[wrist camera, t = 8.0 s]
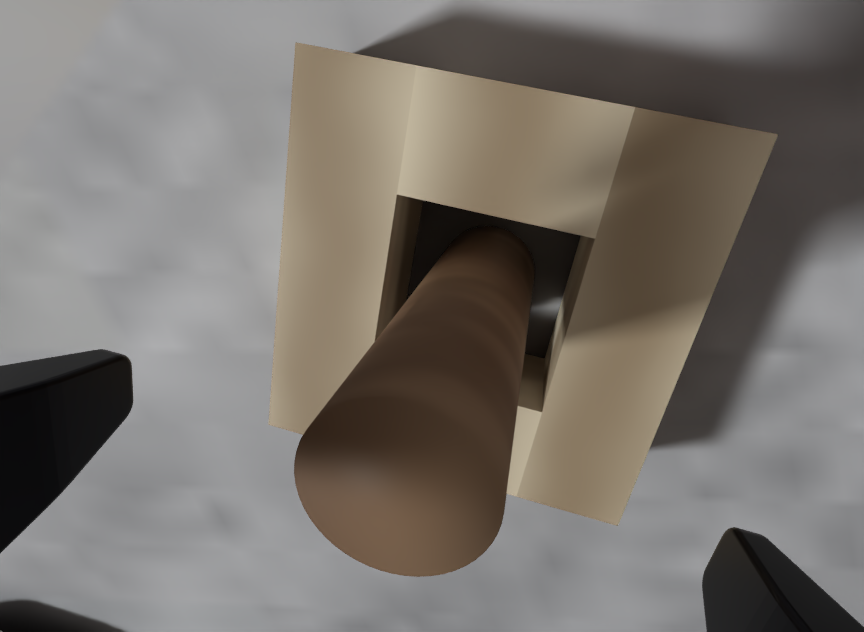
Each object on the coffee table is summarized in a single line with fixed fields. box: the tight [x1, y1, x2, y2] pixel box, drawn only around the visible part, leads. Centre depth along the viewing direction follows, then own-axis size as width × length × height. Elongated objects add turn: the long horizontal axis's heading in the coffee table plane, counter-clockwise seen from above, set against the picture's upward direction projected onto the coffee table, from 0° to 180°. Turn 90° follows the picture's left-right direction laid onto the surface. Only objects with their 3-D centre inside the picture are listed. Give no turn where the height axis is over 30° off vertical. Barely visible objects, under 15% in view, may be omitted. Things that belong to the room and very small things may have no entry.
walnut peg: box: [294, 226, 535, 577], centre depth 12 cm, size 3×3×11 cm
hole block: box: [269, 43, 778, 526], centre depth 16 cm, size 11×11×4 cm
